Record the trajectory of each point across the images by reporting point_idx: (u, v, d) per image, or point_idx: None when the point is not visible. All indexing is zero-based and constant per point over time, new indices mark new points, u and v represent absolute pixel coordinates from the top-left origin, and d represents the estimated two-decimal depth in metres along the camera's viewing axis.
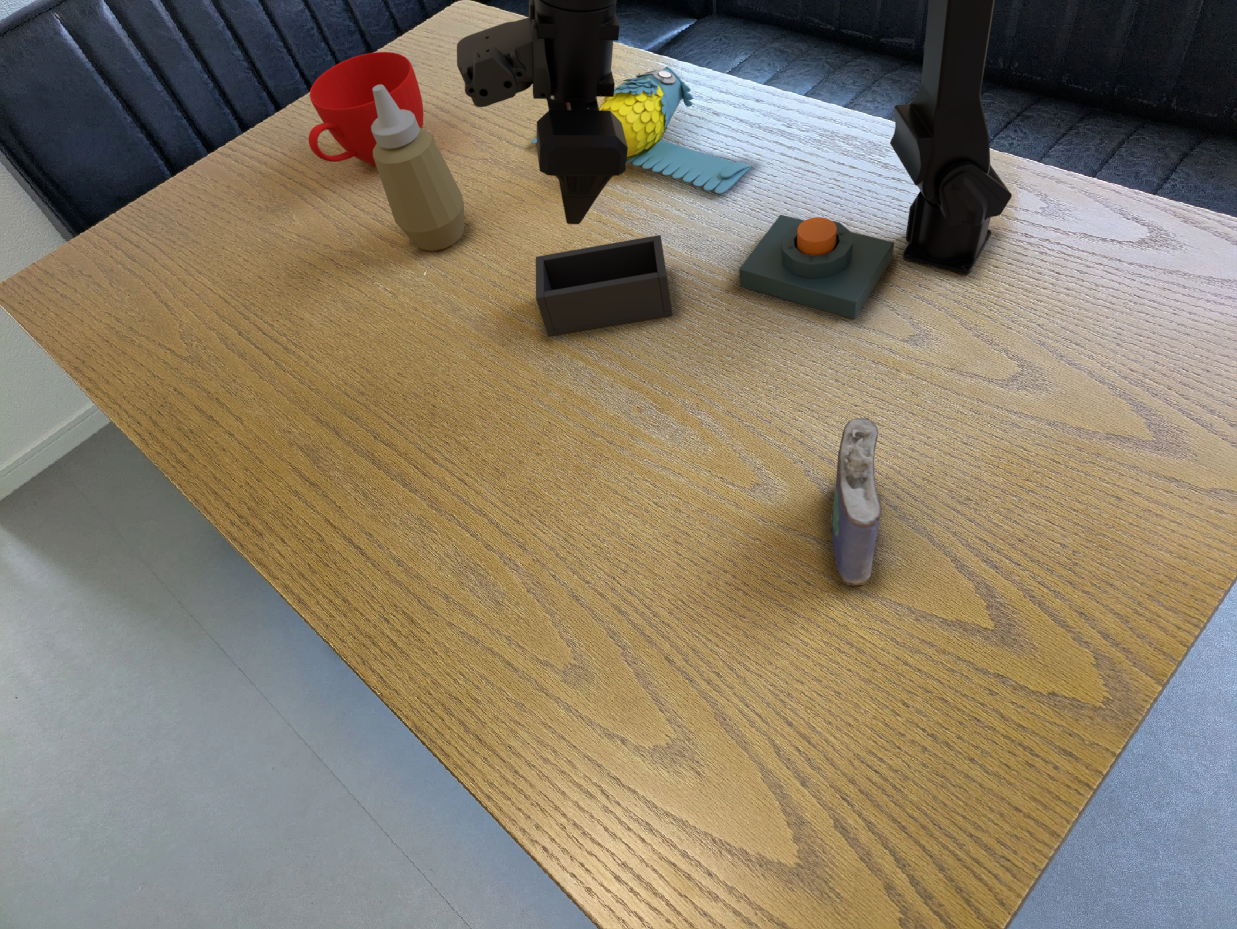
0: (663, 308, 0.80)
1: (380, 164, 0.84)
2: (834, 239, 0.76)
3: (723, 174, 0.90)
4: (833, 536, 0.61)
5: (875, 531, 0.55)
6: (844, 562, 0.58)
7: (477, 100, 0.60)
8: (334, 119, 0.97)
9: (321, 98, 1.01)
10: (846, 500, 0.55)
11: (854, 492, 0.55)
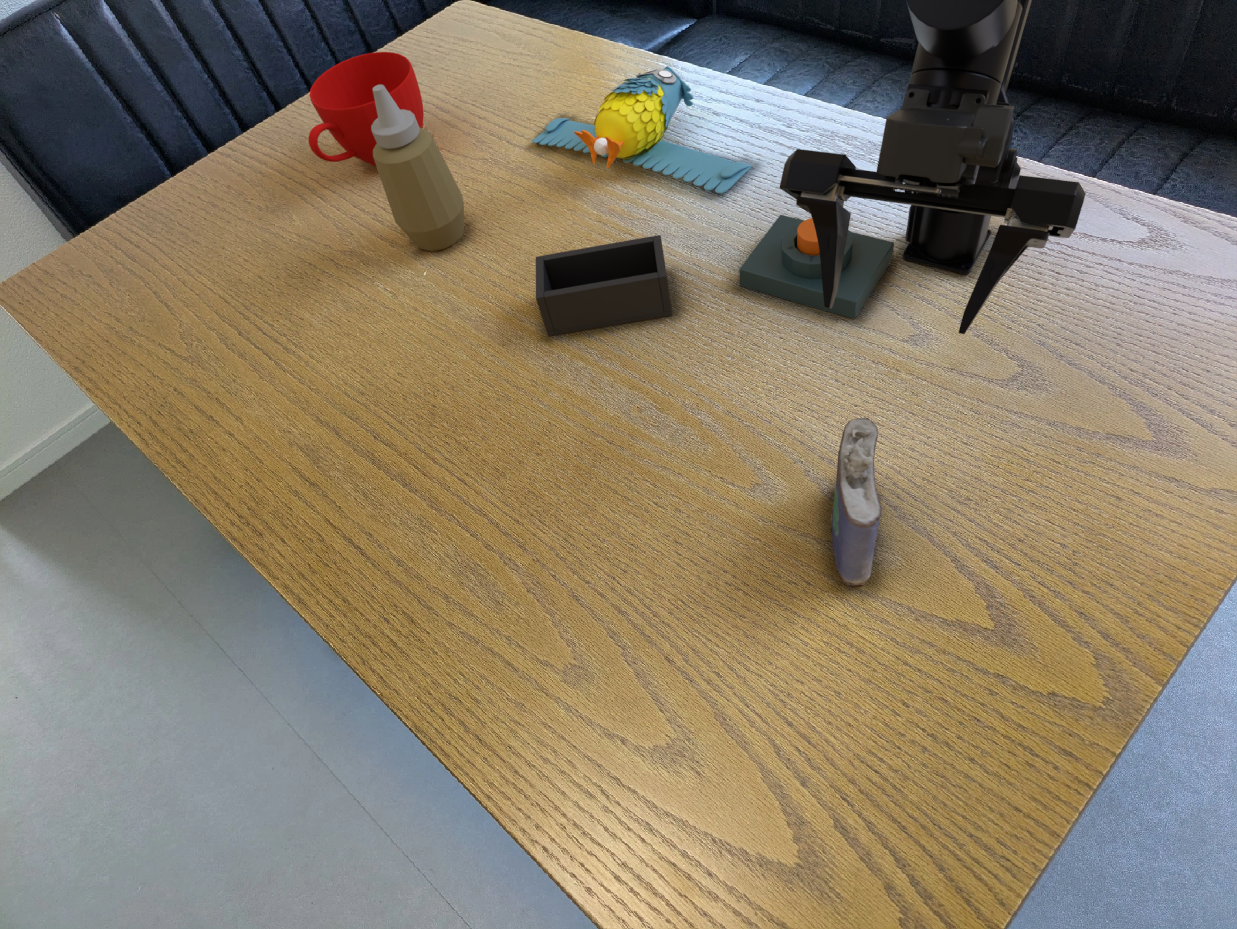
0: (663, 308, 0.80)
1: (380, 164, 0.84)
2: None
3: (723, 174, 0.90)
4: (833, 536, 0.61)
5: (875, 531, 0.55)
6: (844, 562, 0.58)
7: (957, 172, 0.48)
8: (334, 119, 0.97)
9: (321, 98, 1.01)
10: (846, 500, 0.55)
11: (854, 492, 0.55)
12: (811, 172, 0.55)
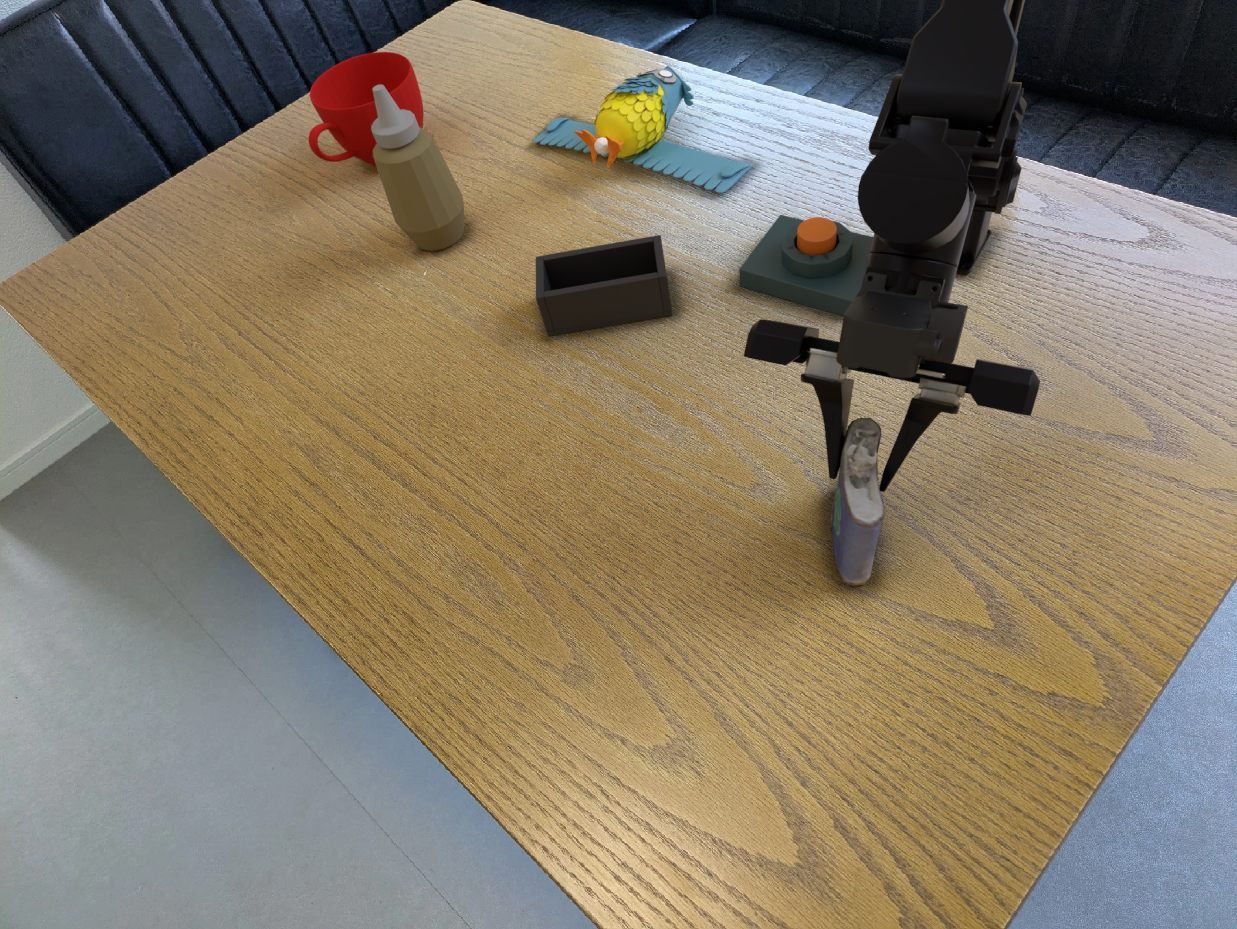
0: (663, 308, 0.80)
1: (380, 164, 0.84)
2: (834, 239, 0.76)
3: (724, 173, 0.91)
4: (834, 536, 0.61)
5: (878, 531, 0.55)
6: (845, 562, 0.58)
7: (914, 368, 0.48)
8: (334, 119, 0.97)
9: (321, 98, 1.01)
10: (849, 499, 0.54)
11: (858, 492, 0.55)
12: (774, 345, 0.56)
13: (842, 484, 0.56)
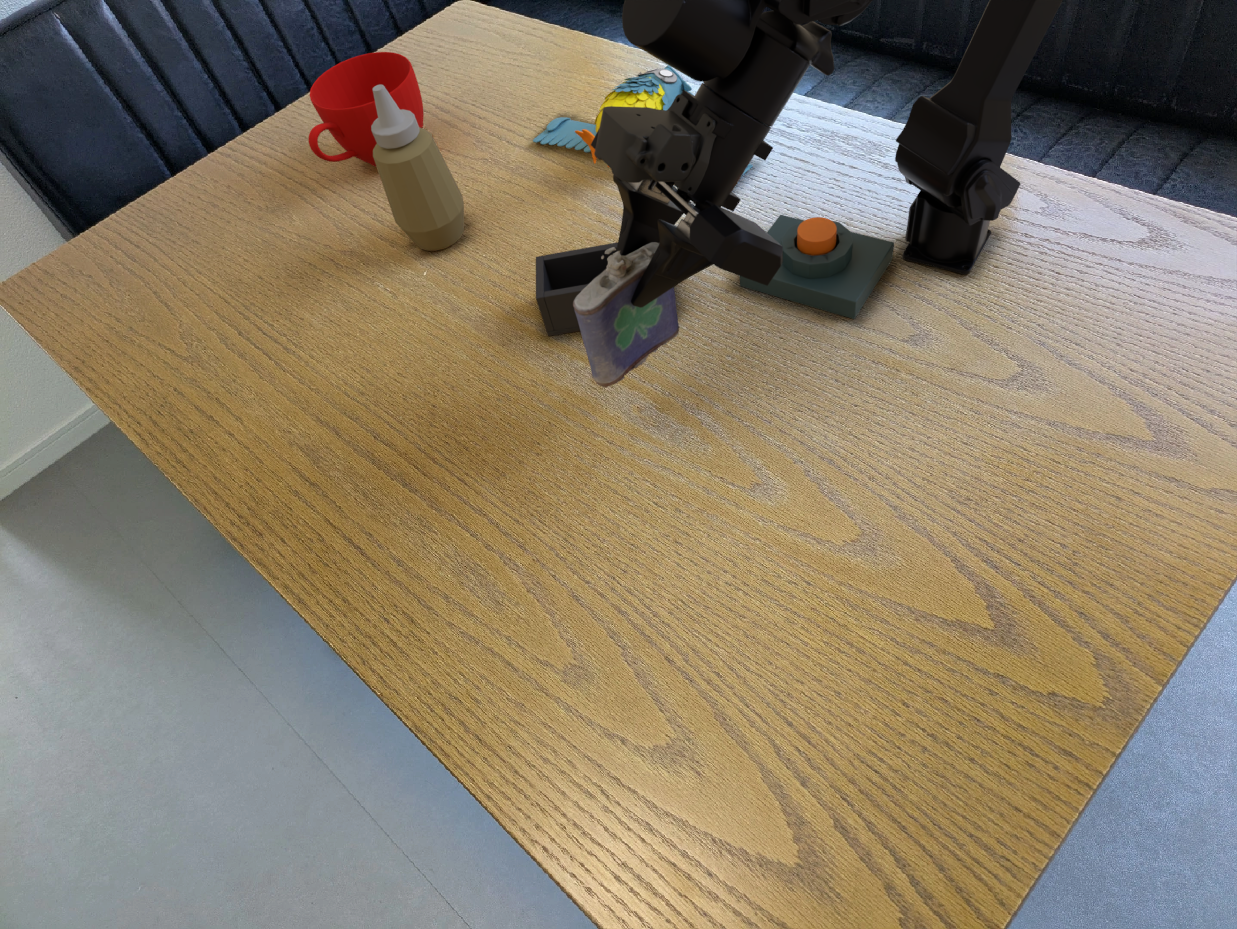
0: None
1: (380, 164, 0.84)
2: (834, 239, 0.76)
3: None
4: None
5: (593, 326, 0.61)
6: None
7: (629, 173, 0.53)
8: (334, 119, 0.97)
9: (321, 98, 1.01)
10: (585, 288, 0.61)
11: (597, 287, 0.61)
12: None
13: None
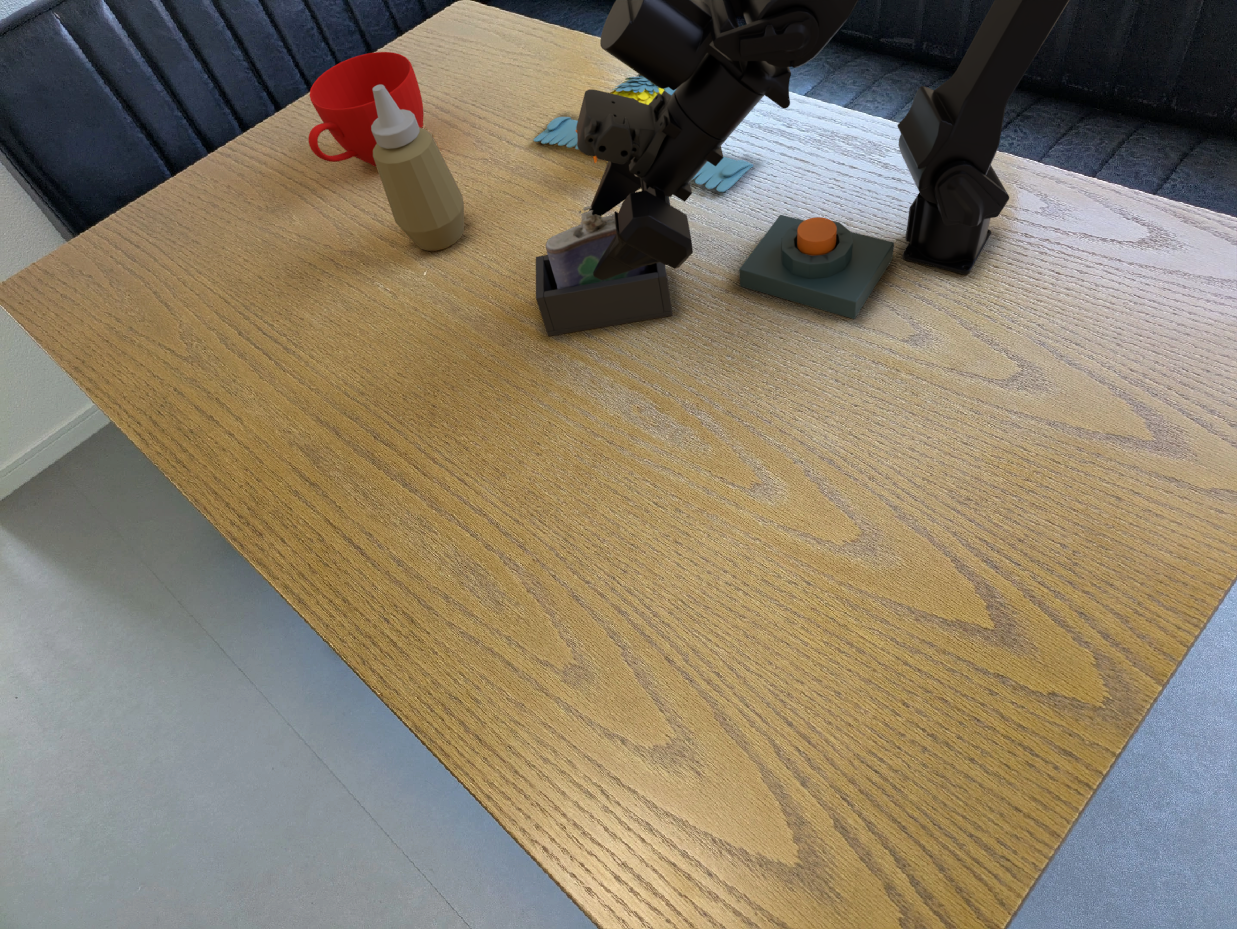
0: (663, 308, 0.80)
1: (380, 164, 0.84)
2: (834, 239, 0.76)
3: (725, 172, 0.91)
4: None
5: (557, 264, 0.76)
6: None
7: (585, 147, 0.66)
8: (334, 119, 0.97)
9: (321, 98, 1.01)
10: (561, 232, 0.76)
11: (570, 234, 0.75)
12: None
13: None
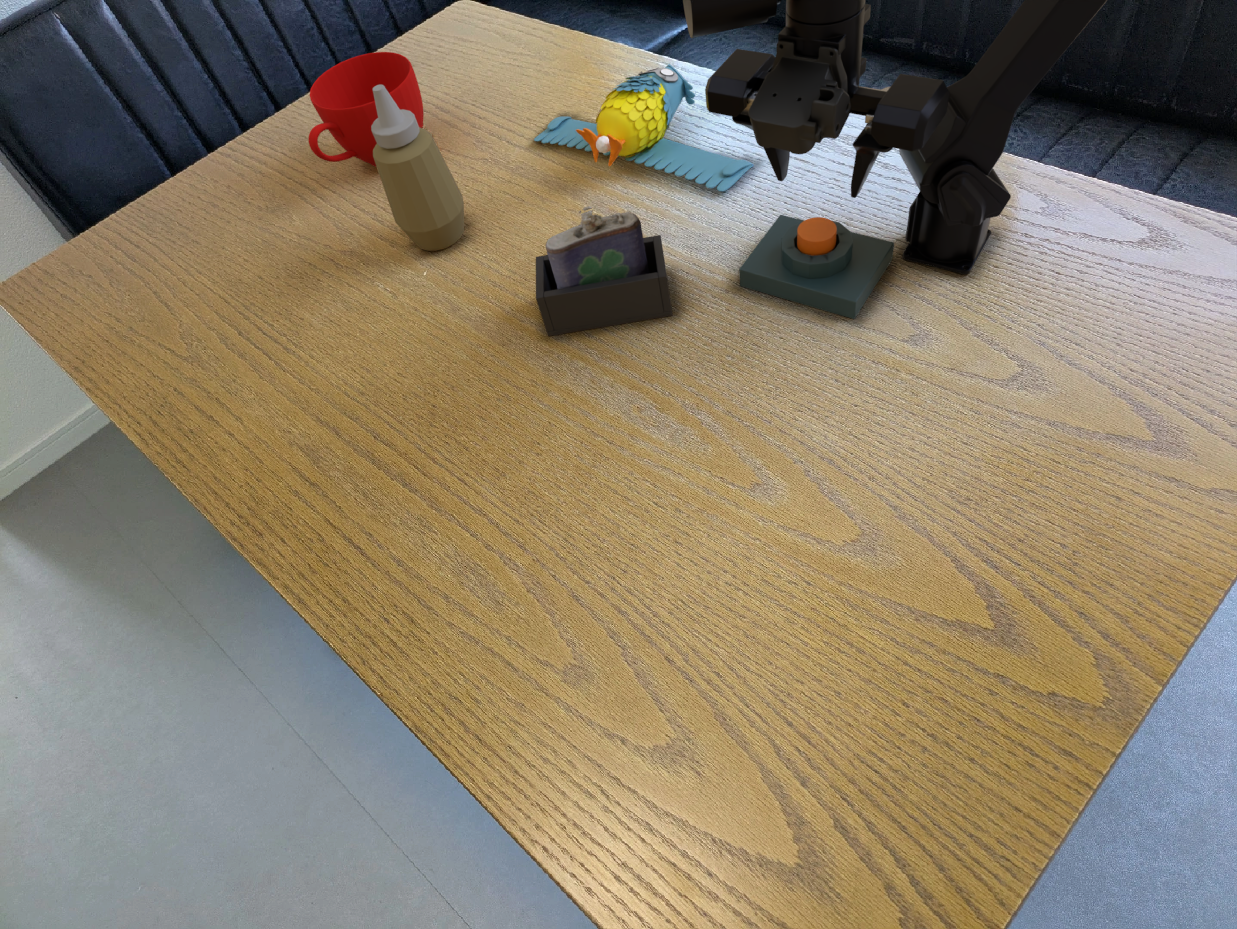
0: (663, 308, 0.80)
1: (380, 164, 0.84)
2: (834, 239, 0.76)
3: (725, 172, 0.91)
4: None
5: (557, 264, 0.76)
6: None
7: (808, 146, 0.61)
8: (334, 119, 0.97)
9: (321, 98, 1.01)
10: (561, 232, 0.76)
11: (570, 234, 0.75)
12: (724, 101, 0.68)
13: None
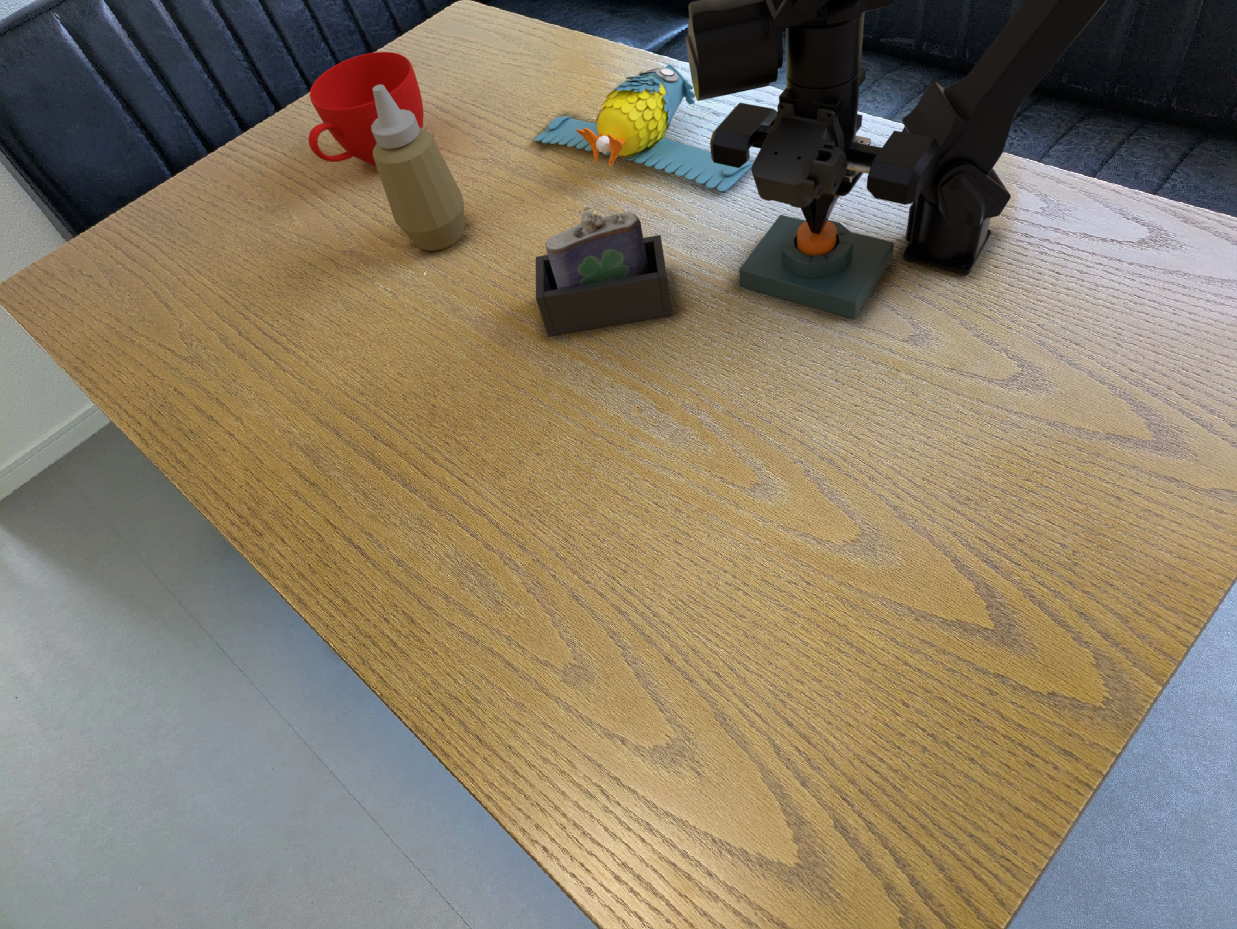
0: (663, 308, 0.80)
1: (380, 164, 0.84)
2: (834, 241, 0.76)
3: (725, 172, 0.91)
4: None
5: (557, 264, 0.76)
6: None
7: (808, 200, 0.65)
8: (334, 119, 0.97)
9: (321, 98, 1.01)
10: (561, 232, 0.76)
11: (570, 234, 0.75)
12: (728, 153, 0.71)
13: None
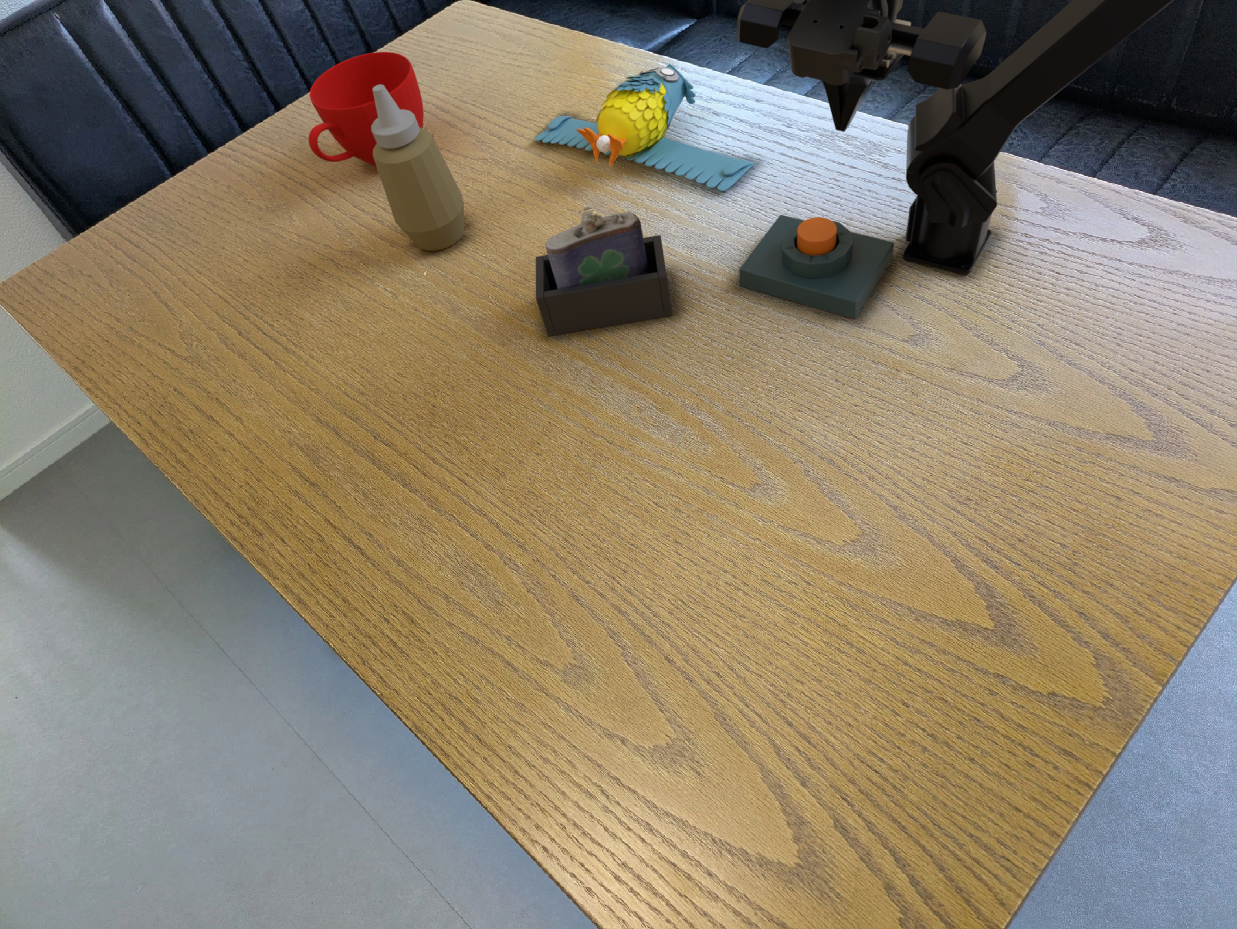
0: (663, 308, 0.80)
1: (380, 164, 0.84)
2: (834, 239, 0.76)
3: (726, 171, 0.91)
4: None
5: (557, 264, 0.76)
6: None
7: (846, 77, 0.61)
8: (334, 119, 0.97)
9: (321, 98, 1.01)
10: (561, 232, 0.76)
11: (570, 234, 0.75)
12: (757, 31, 0.66)
13: None
